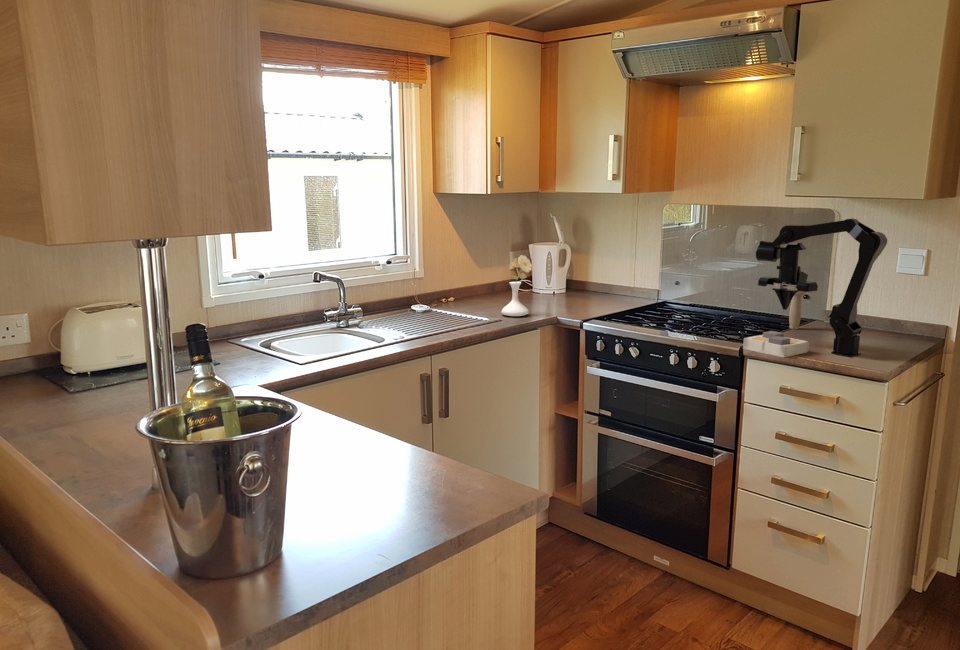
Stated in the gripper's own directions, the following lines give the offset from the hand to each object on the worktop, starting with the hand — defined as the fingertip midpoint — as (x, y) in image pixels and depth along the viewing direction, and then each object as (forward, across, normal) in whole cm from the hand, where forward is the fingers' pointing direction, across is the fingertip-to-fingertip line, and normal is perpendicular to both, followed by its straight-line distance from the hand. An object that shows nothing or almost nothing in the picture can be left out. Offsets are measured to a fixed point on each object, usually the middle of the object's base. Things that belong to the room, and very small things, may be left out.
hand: (785, 309), depth 246 cm
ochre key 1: (+11, -1, +13) cm, 17 cm away
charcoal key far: (+10, -1, +7) cm, 12 cm away
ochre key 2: (+11, -7, +7) cm, 15 cm away
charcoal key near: (+10, -7, +13) cm, 18 cm away
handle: (+12, +14, -28) cm, 34 cm away
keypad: (+12, -4, +10) cm, 16 cm away
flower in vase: (+12, +95, +41) cm, 104 cm away
